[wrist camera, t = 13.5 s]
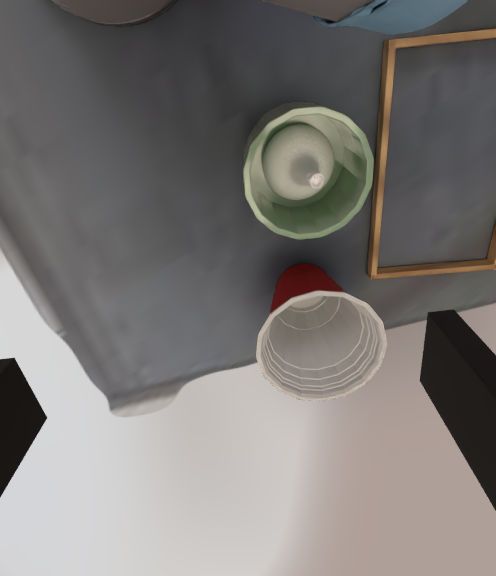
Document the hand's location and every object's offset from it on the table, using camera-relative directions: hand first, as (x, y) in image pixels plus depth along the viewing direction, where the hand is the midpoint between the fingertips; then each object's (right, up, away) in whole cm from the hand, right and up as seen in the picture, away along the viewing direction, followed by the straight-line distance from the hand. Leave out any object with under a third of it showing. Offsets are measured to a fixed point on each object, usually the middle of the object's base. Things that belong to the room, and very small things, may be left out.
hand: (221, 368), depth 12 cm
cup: (+5, +15, +23) cm, 27 cm away
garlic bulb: (+5, +14, +22) cm, 27 cm away
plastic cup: (+7, +3, +29) cm, 30 cm away
